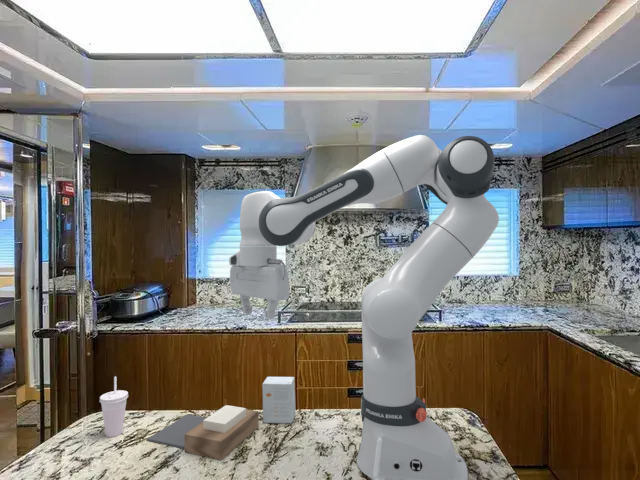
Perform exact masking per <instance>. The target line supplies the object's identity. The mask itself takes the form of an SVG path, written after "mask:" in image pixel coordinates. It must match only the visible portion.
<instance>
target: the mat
mask: <svg viewBox="0 0 640 480" xmlns="http://www.w3.org/2000/svg"><path fill="white" fill-rule="evenodd" d="M206 418H207V417H204V416H199V415H193V414H185V415H184V416H182V417H180V418H179V419H178V420H176V421H174V422H173V423H171V424H169V425H168V426H166V427H164V428H162V429H161V430H160V431H157V432H156V433H154V434H153V435H152V436H150V437H148V438H147V442H152V443H157V444H160V445H166V446H170V447H174V448H178V449H183V450H185V434H186V433H187V432H189V431H190V430H192V429H193V428H194V427H196V426H197V425H199V424H200V423H202V422H203V420H205V419H206Z"/></svg>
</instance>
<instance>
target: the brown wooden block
mask: <svg viewBox="0 0 640 480" xmlns="http://www.w3.org/2000/svg"><path fill="white" fill-rule="evenodd" d="M259 414H260V413H259V411H258V410H252V409H247V408H246V417H245V418H243V419H242V420H241V421H240V422H238V423H237V424H236V425H235V426H233V427H232V428H231V429H230V430H228V431H227V432H226V433H222V432H217V431H212V430H207V429H203V422H202V423H200V424H199V425H197V426H196V427H194V428H193V429H192V430H190V431H189V432H187V433H186V434H185V449H184V452H185V453H187V454H192V455H197V456H200V457H201V456H202V457H206V458H211V459H216V460H220V461H223V460H224V458H226V457H227V456H228V455H229V454H230V453H231V452H233V451H234V450H235V449H236V448H237V447H238V446H239V445H240V444H242V442H244V441H245V440H246V439H247V438H248V437H249V436H251V434H253V433H254V432H255V431H256V430H257V429H258V428H260V427H259V426H260V425H259V424H260V423H259V422H260V421H259V420H260V419H259Z"/></svg>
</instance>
